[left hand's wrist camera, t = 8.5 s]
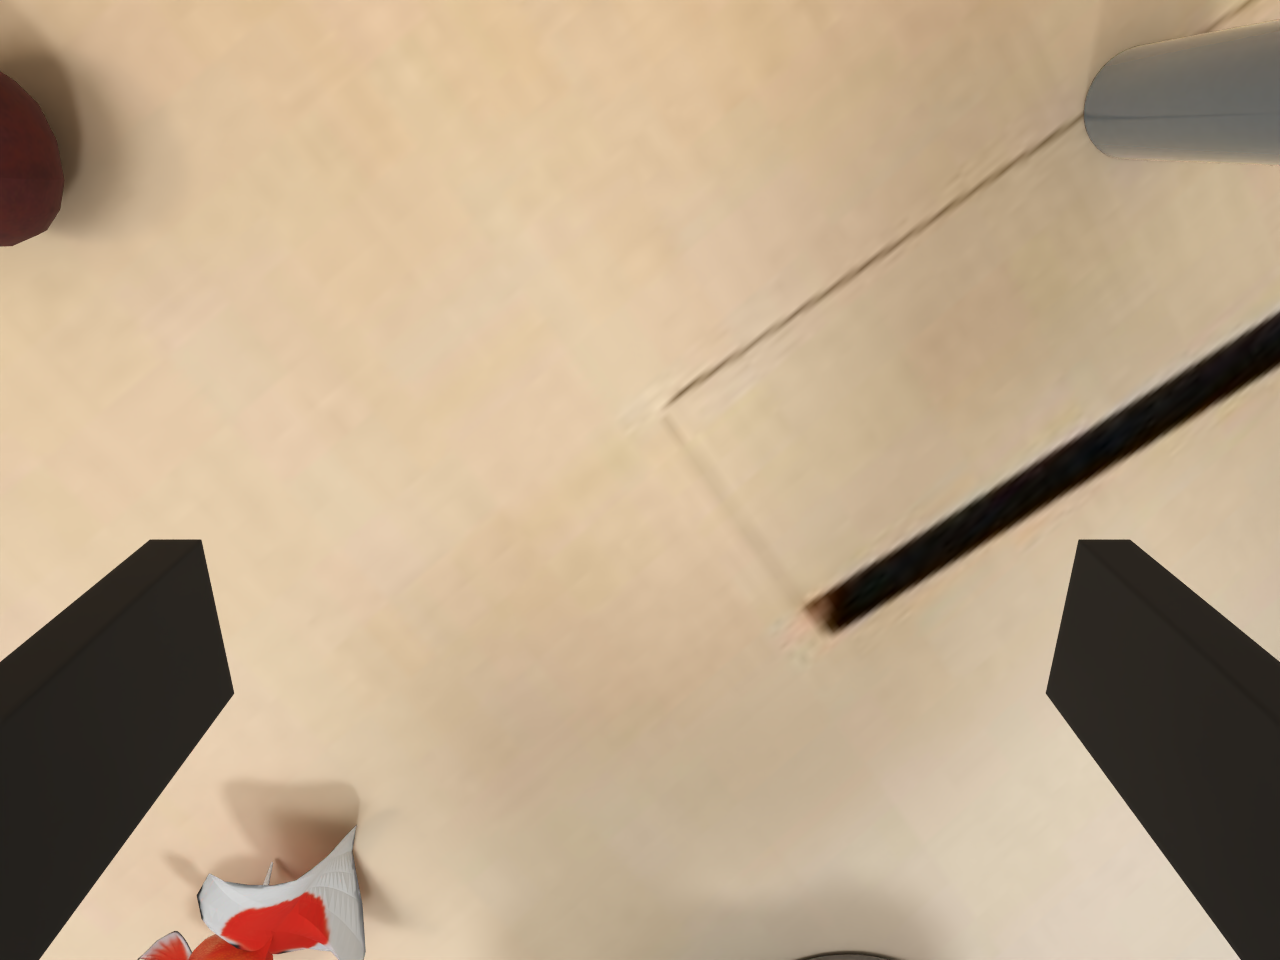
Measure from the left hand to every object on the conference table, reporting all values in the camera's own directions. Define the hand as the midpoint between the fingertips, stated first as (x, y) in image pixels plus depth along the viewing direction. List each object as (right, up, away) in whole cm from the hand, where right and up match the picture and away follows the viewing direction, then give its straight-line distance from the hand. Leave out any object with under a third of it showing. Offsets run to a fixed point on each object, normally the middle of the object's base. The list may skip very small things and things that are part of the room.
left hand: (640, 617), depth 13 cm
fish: (-22, -22, +39) cm, 50 cm away
